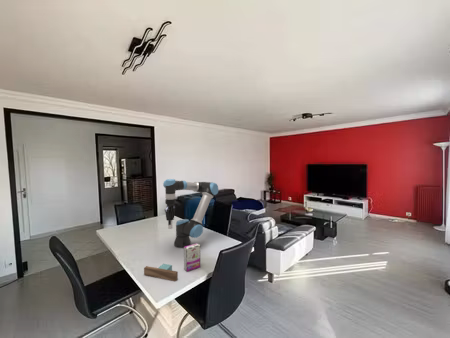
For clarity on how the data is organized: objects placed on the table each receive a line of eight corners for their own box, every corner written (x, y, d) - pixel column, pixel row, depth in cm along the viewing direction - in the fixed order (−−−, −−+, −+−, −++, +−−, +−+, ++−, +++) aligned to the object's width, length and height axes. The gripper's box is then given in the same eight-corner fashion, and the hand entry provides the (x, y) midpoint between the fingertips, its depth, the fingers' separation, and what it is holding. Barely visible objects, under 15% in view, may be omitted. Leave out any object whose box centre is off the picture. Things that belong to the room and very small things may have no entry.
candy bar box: (197, 264, 150) (197, 242, 150) (200, 267, 146) (200, 245, 146) (183, 269, 144) (183, 246, 144) (186, 272, 140) (186, 248, 139)
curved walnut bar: (146, 273, 138) (146, 266, 138) (177, 279, 131) (177, 271, 131) (144, 275, 135) (144, 267, 135) (175, 281, 129) (175, 273, 129)
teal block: (163, 269, 143) (163, 263, 143) (171, 271, 141) (171, 265, 141) (157, 275, 136) (157, 268, 136) (166, 276, 134) (166, 270, 134)
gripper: (170, 197, 165) (170, 225, 166) (161, 199, 153) (161, 230, 153) (178, 197, 163) (178, 226, 164) (170, 200, 151) (170, 231, 151)
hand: (170, 228), depth 159 cm, fingers closed
